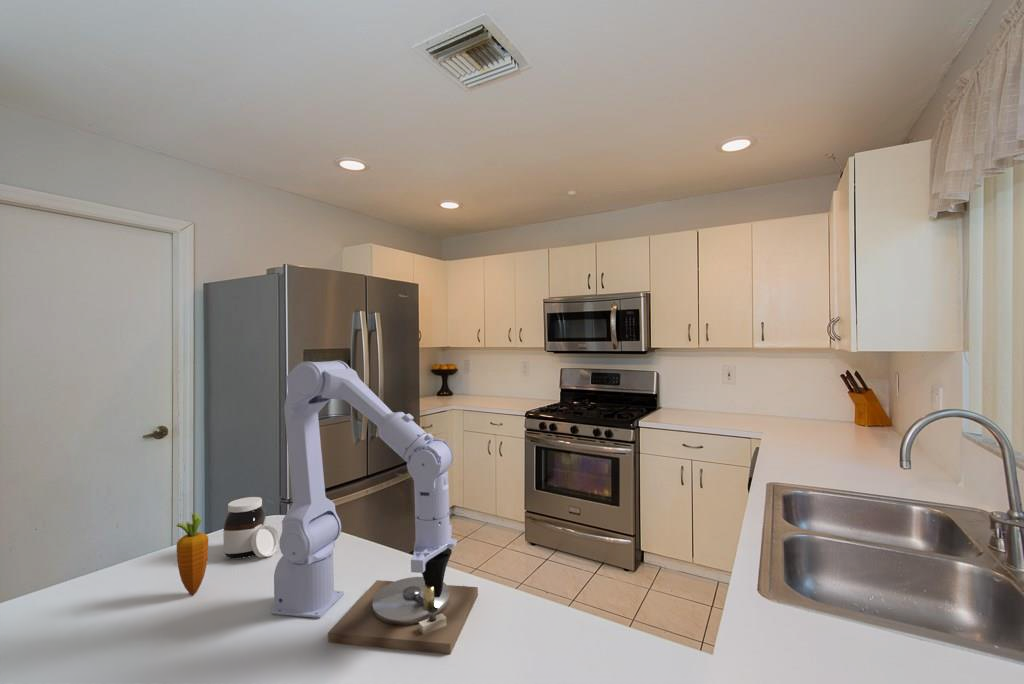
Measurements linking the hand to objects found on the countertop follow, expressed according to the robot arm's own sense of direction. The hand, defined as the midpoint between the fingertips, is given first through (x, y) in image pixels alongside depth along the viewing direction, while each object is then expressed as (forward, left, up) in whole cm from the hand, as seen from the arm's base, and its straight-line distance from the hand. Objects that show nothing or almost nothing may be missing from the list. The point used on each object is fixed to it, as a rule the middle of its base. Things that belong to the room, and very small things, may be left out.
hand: (434, 595), depth 77 cm
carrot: (-49, +2, -4) cm, 49 cm away
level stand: (-5, 0, -4) cm, 6 cm away
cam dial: (-5, +2, -2) cm, 6 cm away
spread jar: (-51, +20, -5) cm, 55 cm away
